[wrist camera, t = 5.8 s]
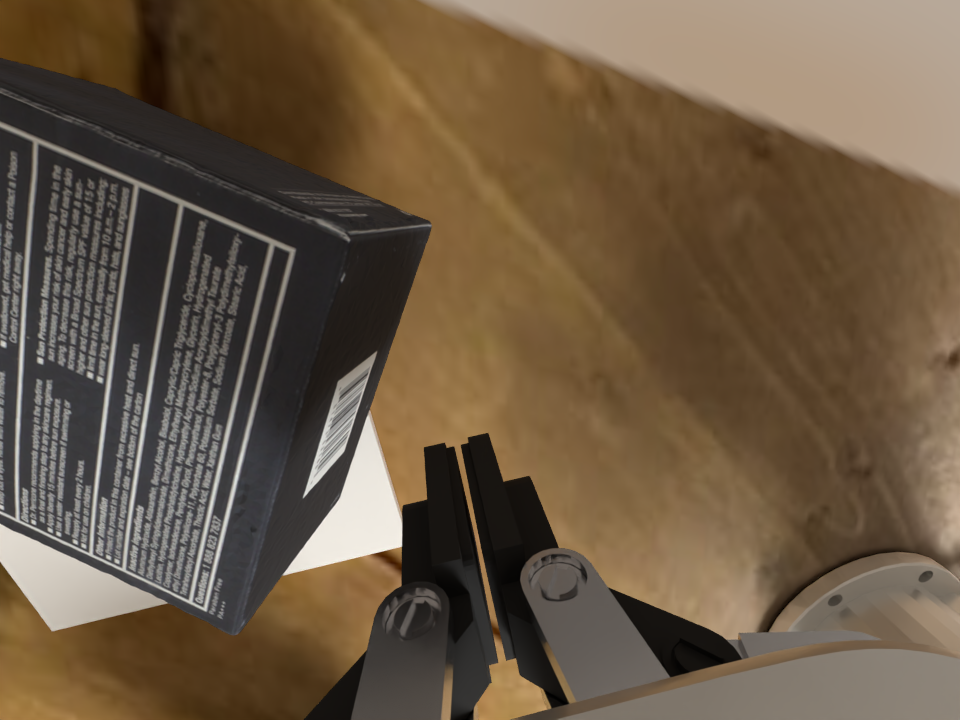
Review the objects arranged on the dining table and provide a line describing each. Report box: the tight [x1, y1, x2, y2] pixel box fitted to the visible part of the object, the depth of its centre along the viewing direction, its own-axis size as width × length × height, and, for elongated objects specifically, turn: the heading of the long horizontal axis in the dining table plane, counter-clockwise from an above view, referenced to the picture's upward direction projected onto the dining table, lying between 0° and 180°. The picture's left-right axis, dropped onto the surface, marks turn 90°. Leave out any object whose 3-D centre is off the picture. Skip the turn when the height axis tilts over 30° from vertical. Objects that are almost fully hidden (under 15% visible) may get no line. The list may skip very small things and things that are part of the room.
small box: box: [0, 58, 432, 635], centre depth 13 cm, size 11×6×10 cm
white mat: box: [0, 410, 402, 631], centre depth 19 cm, size 16×16×1 cm
